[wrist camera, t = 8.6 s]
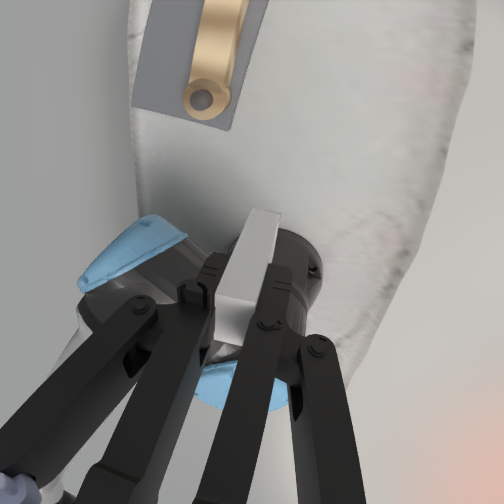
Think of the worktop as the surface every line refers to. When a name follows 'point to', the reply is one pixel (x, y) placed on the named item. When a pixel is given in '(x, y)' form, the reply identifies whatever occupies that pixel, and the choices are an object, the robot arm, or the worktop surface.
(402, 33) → the worktop surface
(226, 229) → the worktop surface
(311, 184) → the worktop surface
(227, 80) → the brass link
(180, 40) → the board
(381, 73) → the worktop surface
